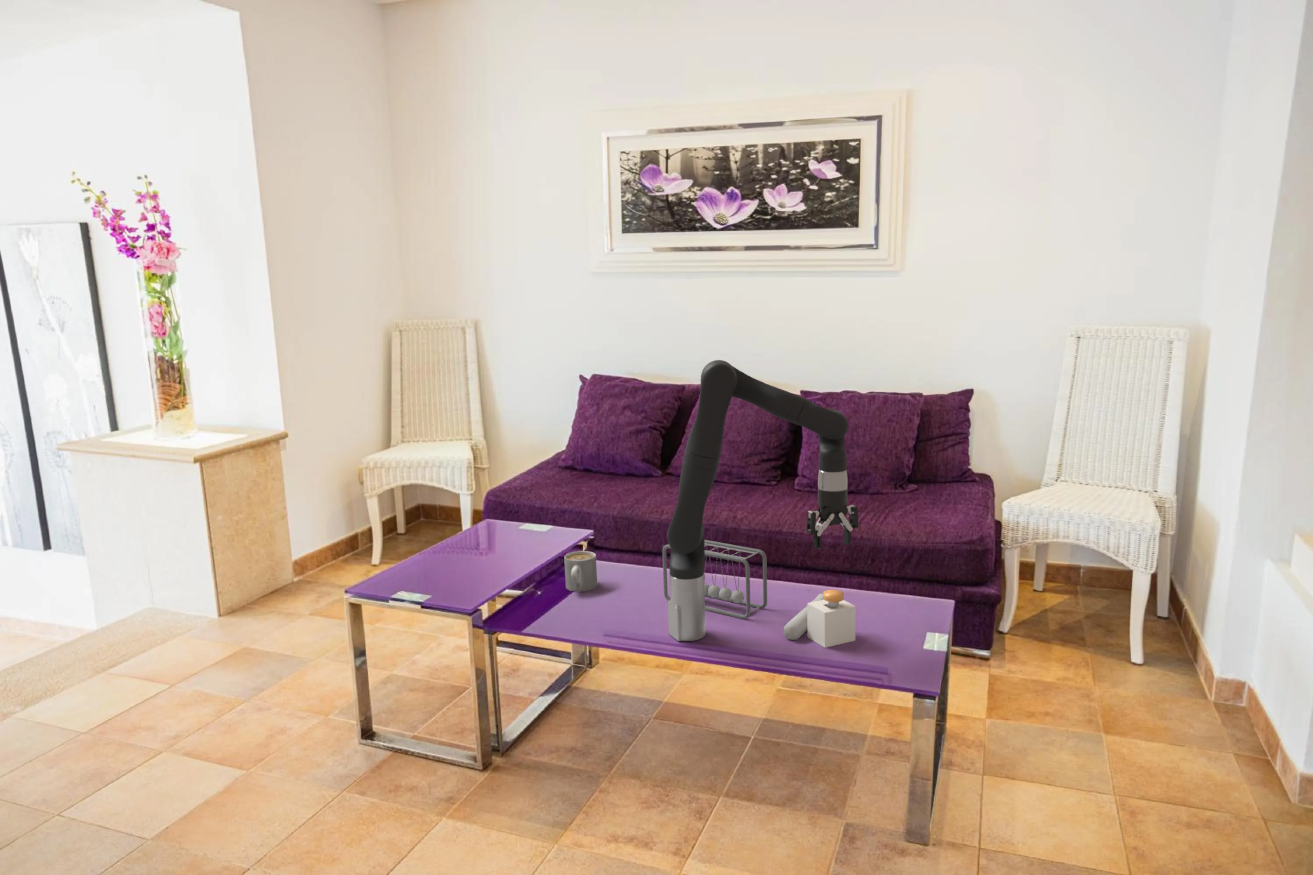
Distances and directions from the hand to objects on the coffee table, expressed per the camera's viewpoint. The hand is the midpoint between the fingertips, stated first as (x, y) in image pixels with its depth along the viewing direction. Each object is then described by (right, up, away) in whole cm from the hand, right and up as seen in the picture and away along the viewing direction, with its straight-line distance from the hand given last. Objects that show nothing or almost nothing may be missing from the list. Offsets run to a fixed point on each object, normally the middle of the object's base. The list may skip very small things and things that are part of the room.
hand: (832, 546), depth 236 cm
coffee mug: (-71, -19, +47) cm, 87 cm away
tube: (-5, -23, +12) cm, 27 cm away
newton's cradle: (-29, -21, +29) cm, 46 cm away
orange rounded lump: (0, -15, -1) cm, 15 cm away
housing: (0, -25, +2) cm, 25 cm away
